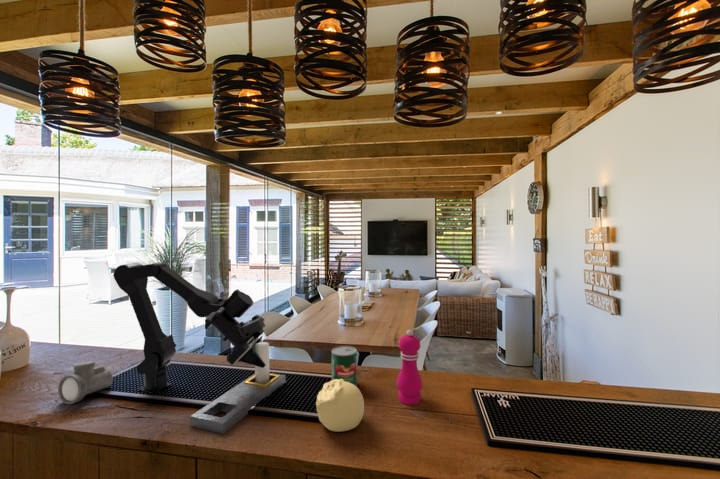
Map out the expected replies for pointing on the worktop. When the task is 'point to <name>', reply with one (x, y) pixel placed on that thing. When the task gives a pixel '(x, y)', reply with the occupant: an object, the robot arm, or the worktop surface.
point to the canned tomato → (344, 364)
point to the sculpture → (340, 405)
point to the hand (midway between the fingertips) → (266, 363)
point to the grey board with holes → (234, 404)
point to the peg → (263, 353)
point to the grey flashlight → (84, 381)
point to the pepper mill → (409, 370)
